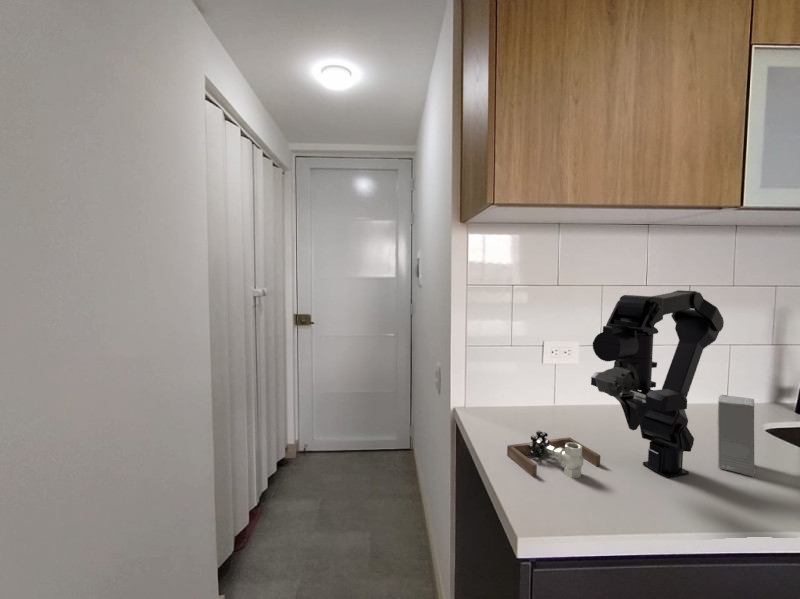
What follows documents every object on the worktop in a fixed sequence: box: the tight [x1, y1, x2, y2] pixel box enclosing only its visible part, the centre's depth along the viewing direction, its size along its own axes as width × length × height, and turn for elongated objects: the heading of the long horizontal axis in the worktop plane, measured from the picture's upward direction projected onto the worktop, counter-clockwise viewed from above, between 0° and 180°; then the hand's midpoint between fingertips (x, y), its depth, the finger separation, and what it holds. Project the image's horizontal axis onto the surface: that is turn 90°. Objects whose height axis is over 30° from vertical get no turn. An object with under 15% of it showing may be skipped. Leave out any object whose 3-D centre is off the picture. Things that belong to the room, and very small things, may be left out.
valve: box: [528, 430, 585, 479], centre depth 92 cm, size 7×7×12 cm
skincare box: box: [716, 394, 756, 478], centre depth 92 cm, size 8×7×16 cm
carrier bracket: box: [506, 436, 601, 477], centre depth 95 cm, size 18×10×2 cm, turn 106°
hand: (632, 429), depth 84 cm, fingers closed
